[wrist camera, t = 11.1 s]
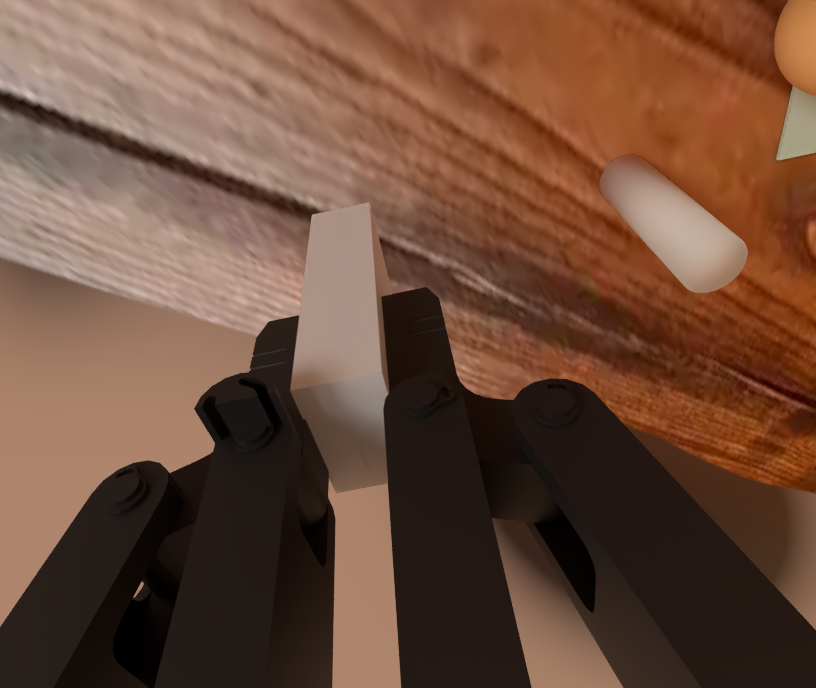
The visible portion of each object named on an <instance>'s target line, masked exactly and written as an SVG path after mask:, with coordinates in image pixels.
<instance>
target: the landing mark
mask: <svg viewBox="0 0 816 688" xmlns="http://www.w3.org/2000/svg"><path fill="white" fill-rule="evenodd" d="M812 153H816V96H814V95H811V94H808V93H805V92H803V91H801V90H799V89H797V88H796V87H794V86H793V87H792V92H791V96H790V100H789V105H788V109H787V113H786V118H785V122H784V126H783V131H782V135H781V139H780V144H779V148H778V152H777V157H776V160H778V161H779V160H783V159H788V158H793V157H797V156H802V155H807V154H812Z"/></svg>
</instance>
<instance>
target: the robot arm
mask: <svg viewBox="0 0 816 688" xmlns="http://www.w3.org/2000/svg"><path fill="white" fill-rule="evenodd" d="M253 356H254V357H252V361H251V366H250V369H251V371H249V373H240V374H237V375H234V376H231V377H228V378H225V379H224V380H222V381H220V382H218V383H217V384H215V385H213V386H212V387H211V388H210V389H209V390H208V391H207V392H206V393H205V394H203V395H202V396H201V398H200V399H199V401H198V403H197V405H196V406H195V408H194V409H195V411H196V413H197V414H198V416H199V418H200V419H201V421H202V422H203V424H204V426H205V427H206V429H207V431H208V432H209V434H210V435H211V437H212V439H213V440H214V442H215V447H214V451H213V452H212V453H211V454H209V455H207V456H205V457H204V458H202V459H200V460H198V461H196V462H193V463H191V464H189V465H187V466H185V467H183V468H180V469H178V470H176V471H174V472H171V473H169V472H168V471H167V470H166V469H165V468H164V467H163V466H162V465H161V464H160V463H158V462H153V461H143V462H137V463H133V464H130V465H128V466H126V467H123V468H121V469H119V470H117V471H116V472H114V474H112V475H110V476H109V477H108V478H106V479H105V480H103V482H102V483H101V484H100V485H99V486H98V487H97V488H96V490H95V491H94V492H93V493H92V494H91V496H90V497H89V499H88V500H87V502H86V503H85V504H84V506H83V507H82V509H81V510H80V512H79V513H78V515H77V516H76V517H75V519H74V520H73V522H72V523H71V525H70V526H69V528H68V529H67V531H66V532H65V534H64V535H63V536H62V538H61V540H60V541H59V542H58V544H57V545H56V547H55V548H54V550H53V551H52V553H51V554H50V555H49V557H48V558H47V560H46V561H45V563H44V564H43V566H42V567H41V568H40V570H39V571H38V573H37V574H36V576H35V577H34V579H33V580H32V582H31V583H30V585H29V586H28V588H27V589H26V590H25V592H24V593H23V595H22V596H21V598H20V599H19V600H18V602H17V603H16V605H15V606H14V608H13V609H12V611H11V612H10V614H9V615H8V616H7V618H6V619H5V621H4V623H3V624H2V625H1V627H0V688H332V667H333V665H332V663H333V616H334V565H335V561H334V560H335V515H334V510H333V507H332V505H331V503H330V501H329V499H328V483H329V479H330V481H331V483H332V485H333V488H334V490H335V492H336V493H339V492H344V491H349V490H355V489H360V488H365V487H370V486H375V485H380V484H386V483H388V490H389V506H390V521H391V537H392V551H393V567H394V583H395V598H396V611H397V628H398V644H399V659H400V673H401V688H531V684H530V679H529V675H528V671H527V667H526V662H525V658H524V654H523V649H522V645H521V641H520V637H519V633H518V628H517V624H516V620H515V616H514V611H513V607H512V602H511V598H510V594H509V590H508V585H507V581H506V577H505V572H504V568H503V564H502V560H501V556H500V551H499V547H498V543H497V538H496V534H495V530H494V526H493V521H492V518H500V519H508V520H517V521H525V523H526V525H527V527H528V528H529V530H530V532H531V533H532V535H533V537H534V539H535V540H536V542H537V544H538V545H539V547H540V549H541V550H542V552H543V553H544V555H545V557H546V558H547V560H548V562H549V564H550V565H551V567H552V568H553V570H554V572H555V574H556V575H557V577H558V579H559V580H560V582H561V583H562V585H563V587H564V589H565V590H566V592H567V594H568V595H569V597H570V598H571V601H572V602H573V604H574V605H575V607H576V609H577V611H578V612H579V614H580V616H581V617H582V619H583V621H584V622H585V624H586V626H587V627H588V629H589V631H590V632H591V634H592V636H593V637H594V639H595V641H596V642H597V644H598V646H599V647H600V649H601V651H602V652H603V654H604V656H605V657H606V659H607V661H608V663H609V664H610V666H611V668H612V669H613V671H614V672H615V674H616V676H617V678H618V679H619V681H620V683H621V684H622V686H623V688H816V630H815V629H814V628H813V627H812V626H811V625H810V624H809V622H808V621H807V620H806V619H805V618H804V617H803V616H802V615H801V614H800V613H799V612H798V611H797V610H796V609H795V607H794V606H793V605H792V604H791V603H790V602H789V601H788V600H787V599H786V598H785V597H784V596H783V595H782V594H781V592H780V591H779V590H778V589H777V588H776V587H775V586H774V585H773V584H772V583H771V582H770V581H769V580H768V579H767V577H766V576H765V575H764V574H763V573H762V572H761V571H760V570H759V569H758V568H757V567H756V566H755V565H754V564H753V563H752V561H751V560H750V559H749V558H748V557H747V556H746V555H745V554H744V553H743V552H742V551H741V550H740V548H739V547H738V546H737V545H736V544H735V543H734V542H733V541H732V540H731V539H730V538H729V537H728V536H727V535H726V533H725V532H724V531H723V530H722V529H721V528H720V527H719V526H718V525H717V524H716V523H715V522H714V521H713V520H712V519H711V517H709V515H708V514H707V513H706V512H705V511H704V510H703V509H702V508H701V507H700V506H699V505H698V503H697V502H696V501H695V500H694V499H693V498H692V497H691V496H690V495H689V494H688V493H687V492H686V491H685V490H684V488H683V487H682V486H681V485H680V484H679V483H678V482H677V481H676V480H675V479H674V478H673V477H672V476H671V475H670V473H669V472H668V471H667V470H666V469H665V468H664V467H663V466H662V465H661V464H660V463H659V462H658V461H657V460H656V459H655V457H654V456H653V455H652V454H651V453H650V452H649V451H648V450H647V449H646V448H645V447H644V446H643V445H642V443H640V441H639V440H638V439H637V438H636V437H635V436H634V435H633V434H632V433H631V432H630V431H629V430H628V428H627V427H626V426H625V425H624V424H623V423H622V422H621V421H620V420H619V419H618V418H617V417H616V416H615V414H614V413H613V412H612V411H611V410H610V409H609V408H608V407H607V406H606V405H605V404H604V403H603V402H602V401H601V399H600V398H599V397H598V396H597V395H596V394H595V393H594V392H592V391H591V390H590V389H588V388H587V387H585V386H584V385H583V384H580V383H577V382H574V381H571V380H567V379H546V380H542V381H537V382H534V383H532V384H530V385H529V386H527V387H525V388H523V389H522V390H521V391H520V392H519V394H518V395H517V396H516V397H515V399H514V400H502V399H492V398H485V397H482V396H480V395H477V394H474V393H473V392H471V391H469V390H468V389H466V388H465V387H464V386H463V384H462V383H461V382H460V381H459V378H458V376H457V373H456V369H455V365H454V360H453V356H452V352H451V348H450V343H449V339H448V335H447V331H446V327H445V322H444V318H443V314H442V309H441V305H440V301H439V298H438V297H437V296H436V295H435V294H433V293H432V292H431V291H430V290H429V289H428V288H427V287H425V288H420V289H415V290H410V291H405V292H401V293H396V294H392V290H391V286H390V282H389V278H388V274H387V270H386V266H385V262H384V258H383V254H382V250H381V246H380V242H379V238H378V234H377V230H376V226H375V222H374V218H373V214H372V210H371V206H370V202H369V203H364V204H360V205H355V206H351V207H346V208H341V209H337V210H332V211H328V212H323V213H318V214H314V215H312V219H311V227H310V235H309V243H308V251H307V259H306V267H305V275H304V283H303V291H302V299H301V307H300V315H298V316H293V317H289V318H284V319H279V320H274V321H270V322H268V323H267V325H266V326H265V327H264V329H263V330H262V331H261V333H260V334H259V335H258V337H257V338H256V343H255V347H254V352H253ZM141 581H142V582H143V583H144V585H143V587H142V589H141V590H140V591H139V593H138V594H137V595H136V597H134V598H133V596H134V595H135V593H136V591H137V589H138V587H139V585H140V583H141Z"/></svg>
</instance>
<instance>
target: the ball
mask: <svg viewBox="0 0 816 688" xmlns="http://www.w3.org/2000/svg"><path fill="white" fill-rule="evenodd" d="M774 53H775V58H776V62H777V64H778V67H779V69H780V71H781V73H782V74H783V76H784V77H785V78H786V79H787V81H788V82H790V83H791V84H792V85H793V86H794V87H796V88H797V89H799V90H801V91H803V92H805V93H808V94H811V95H814V96H816V0H788V1H787V3H786V5H785V6H784V8H783V10H782V13H781V15H780V17H779V20H778V23H777V26H776V31H775V36H774Z"/></svg>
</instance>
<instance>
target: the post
mask: <svg viewBox="0 0 816 688" xmlns="http://www.w3.org/2000/svg"><path fill="white" fill-rule="evenodd" d="M599 188H600V192H601V194H602V196H603V197H604V198H605V199H606V200H607V202H608V203H609V204H610V205H611V206H612V207H613V208H614V209H615V210H616V211H617V213H618V214H619V215H620V216H621V217H622V218H623V219H624V220H625V221H626V222H627V224H628V225H629V226H630V227H631V228H632V229H633V230H634V231H635V232H636V233H637V235H638V236H639V237H640V238H641V239H642V240H643V241H644V242H645V243H646V244H647V246H648V247H649V248H650V249H651V250H652V251H653V252H654V253H655V254H656V255H657V257H658V258H659V259H660V260H661V261H662V262H663V263H664V264H665V265H666V266H667V268H668V269H669V270H670V271H671V272H672V273H673V274H674V275H675V276H676V277H677V279H678V280H679V281H680V282H681V283H682V284H683V285H684V286H685V287H686V288H687V289H688V290H690V291H692V292H696V293H708V292H712V291H715V290H718V289H720V288H722V287H724V286H726V285H727V284H729V283H730V282H731V281H733V280H734V279H735V278H736V277H737V276H738V275H739V274H740V272H741V271H742V269H743V268H744V266H745V264H746V261H747V257H748V249H747V246H746V244H745V242H744V241H743V240H742V239H740V238H739V237H738V236H737V235H736V234H734V233H733V232H732V231H731V230H730V229H728V228H727V227H726V226H725V225H723V224H722V223H721V222H720V221H719V220H717V219H716V218H715V217H714V216H712V215H711V214H710V213H709V212H708V211H706V210H705V209H704V208H703V207H702V206H700V205H699V204H698V203H697V202H695V201H694V200H693V199H692V198H691V197H689V196H688V195H687V194H686V193H684V192H683V191H682V190H681V189H680V188H678V187H677V186H676V185H675V184H674V183H672V182H671V181H670V180H669V179H667V178H666V177H665V176H664V175H663V174H661V173H660V172H659V171H658V170H656V169H655V168H654V167H653V166H652V165H650V164H649V163H648V162H647V161H646V160H644V159H643V158H642V157H640V156H638V155H633V154H629V155H624V156H621V157H618V158H617V159H615V160H613V161H612V162H611V163H610V164H609V165H608V166H607V167H606V168H605V170H604V171H603V173H602V175H601V178H600V183H599Z"/></svg>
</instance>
